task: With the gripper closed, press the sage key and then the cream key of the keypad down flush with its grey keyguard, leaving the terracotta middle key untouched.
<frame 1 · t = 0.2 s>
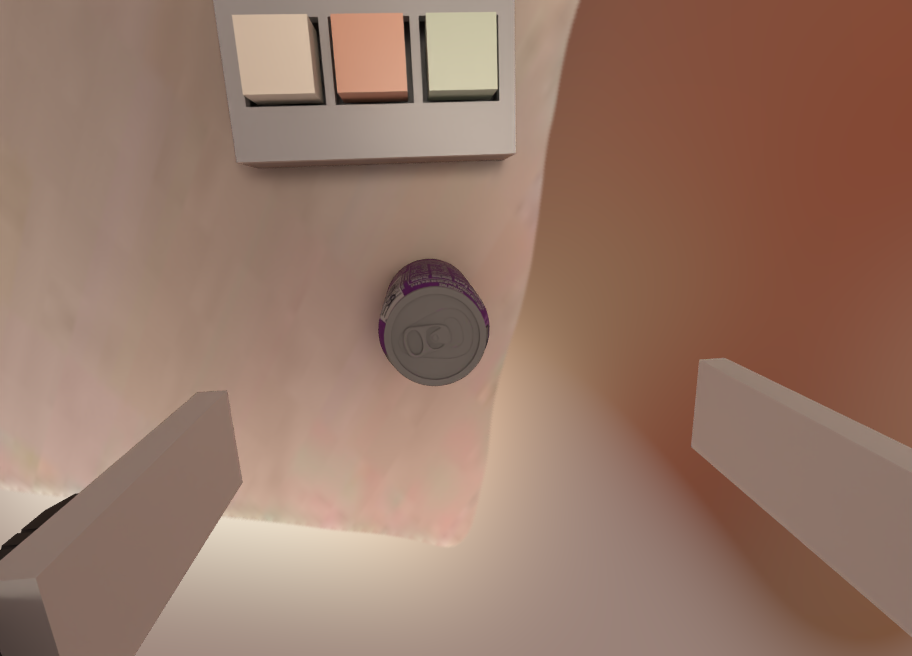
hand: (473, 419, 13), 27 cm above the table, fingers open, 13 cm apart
key terracotta: (371, 60, 31), point 5 cm above the table, slide at 0.0 cm
key cream: (280, 62, 31), point 5 cm above the table, slide at 0.0 cm
key sage: (460, 58, 31), point 5 cm above the table, slide at 0.0 cm
keypad: (377, 79, 36), on the table
beverage can: (429, 299, 40), on the table
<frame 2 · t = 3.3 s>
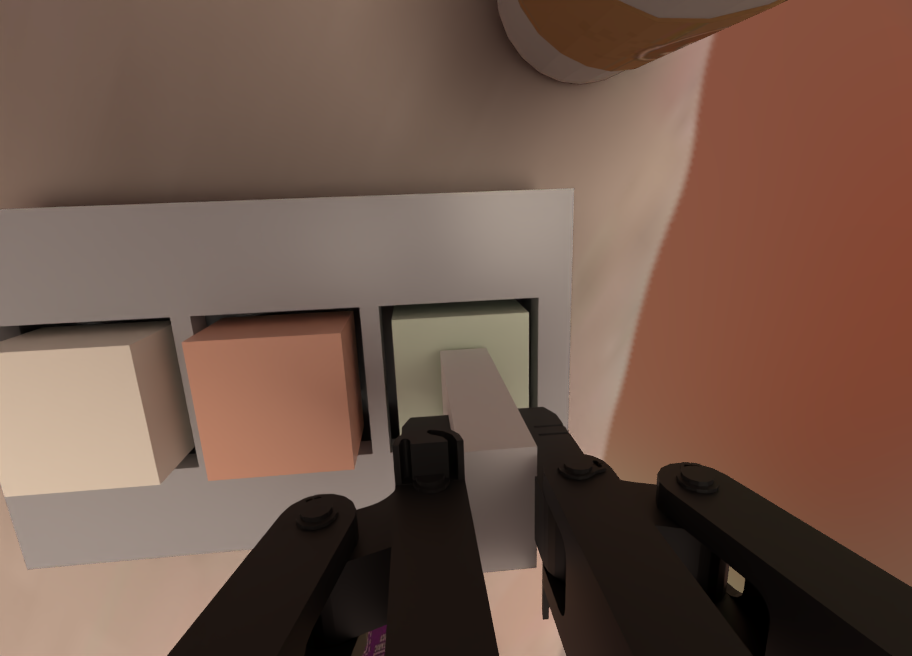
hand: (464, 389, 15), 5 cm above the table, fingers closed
key terracotta: (285, 390, 16), point 5 cm above the table, slide at 0.0 cm
key cream: (98, 402, 15), point 5 cm above the table, slide at 0.0 cm
key sage: (459, 366, 17), point 3 cm above the table, slide at 1.3 cm
keypad: (314, 348, 20), on the table
beverage can: (410, 654, 25), on the table
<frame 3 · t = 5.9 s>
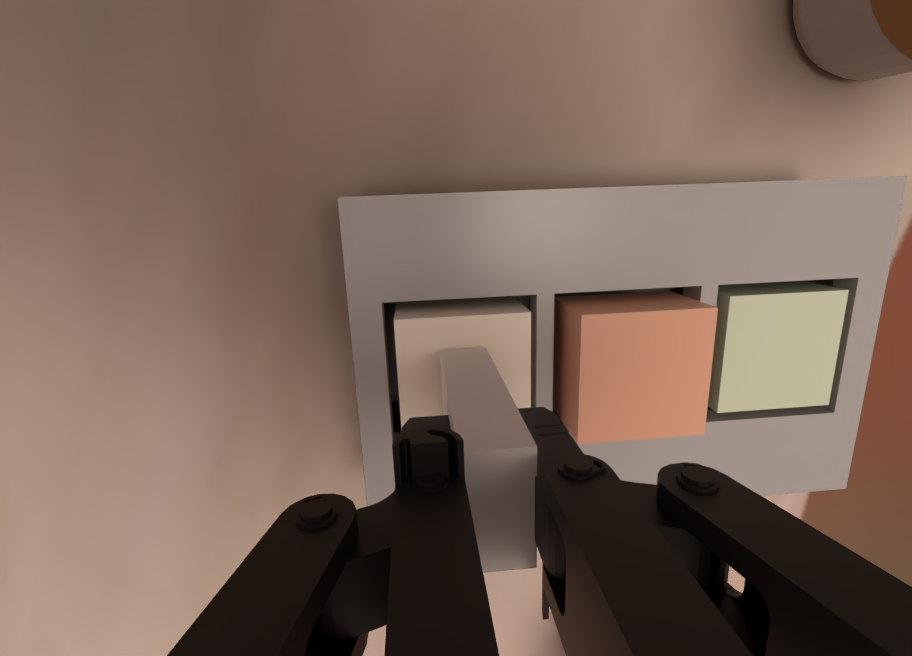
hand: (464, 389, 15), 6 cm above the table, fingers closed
key terracotta: (626, 362, 17), point 5 cm above the table, slide at 0.0 cm
key cream: (460, 365, 17), point 4 cm above the table, slide at 0.8 cm, touching gripper
key sage: (753, 341, 19), point 3 cm above the table, slide at 1.5 cm
keypad: (581, 329, 21), on the table
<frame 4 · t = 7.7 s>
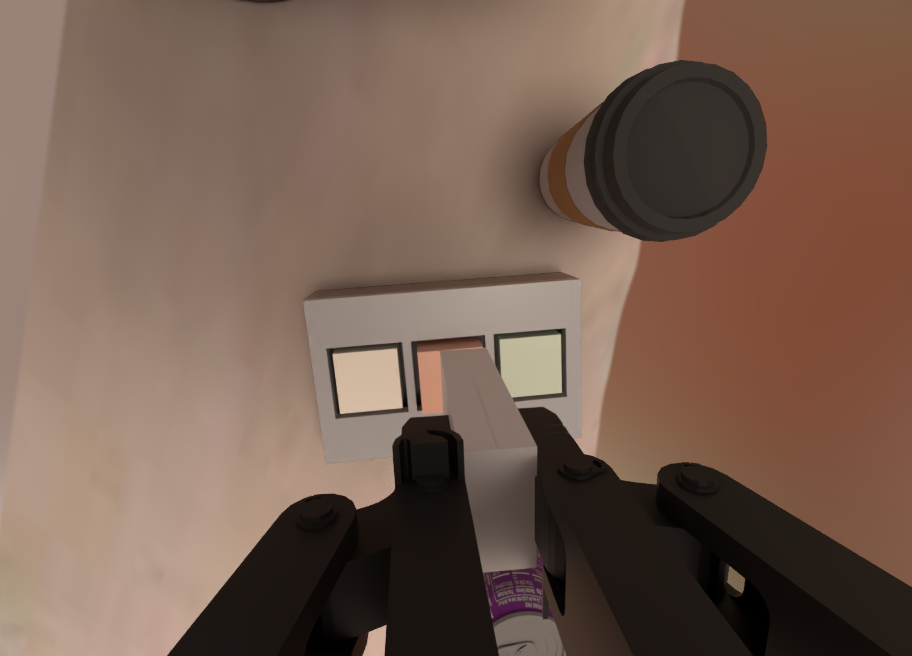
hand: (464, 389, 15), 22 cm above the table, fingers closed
key terracotta: (450, 374, 34), point 5 cm above the table, slide at 0.0 cm
key cream: (370, 374, 35), point 3 cm above the table, slide at 1.5 cm
coffee cup: (577, 178, 36), on the table
key sage: (526, 360, 36), point 3 cm above the table, slide at 1.5 cm
keypad: (446, 355, 38), on the table
beverage can: (492, 534, 43), on the table
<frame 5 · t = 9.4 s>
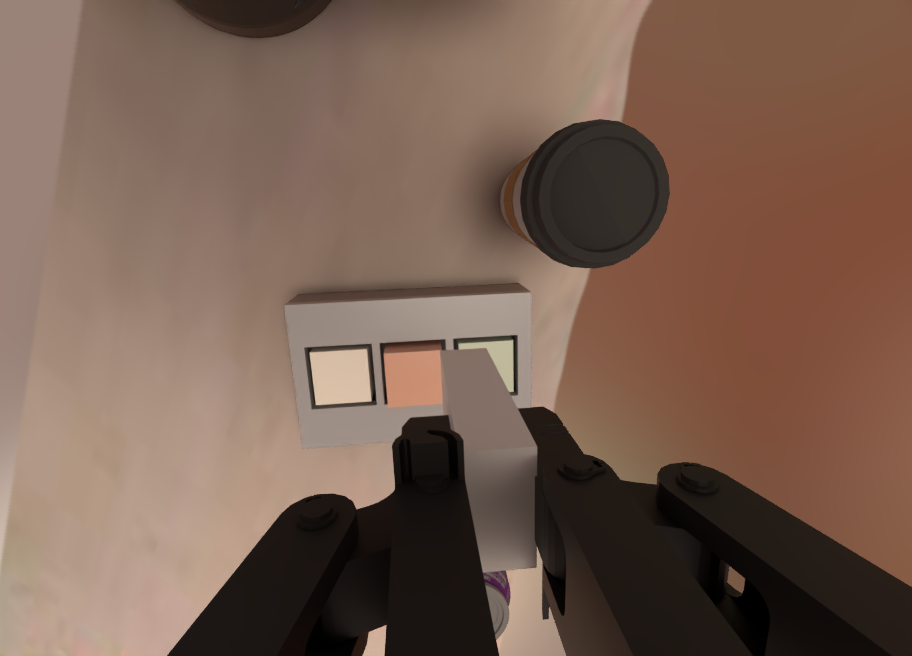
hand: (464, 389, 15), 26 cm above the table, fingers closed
key terracotta: (414, 372, 38), point 5 cm above the table, slide at 0.0 cm
key cream: (343, 371, 39), point 3 cm above the table, slide at 1.5 cm
coffee cup: (535, 200, 40), on the table
key sage: (483, 362, 40), point 3 cm above the table, slide at 1.5 cm
keypad: (414, 355, 43), on the table
beverage can: (454, 515, 47), on the table
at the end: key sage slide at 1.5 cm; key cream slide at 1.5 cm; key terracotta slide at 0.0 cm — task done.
